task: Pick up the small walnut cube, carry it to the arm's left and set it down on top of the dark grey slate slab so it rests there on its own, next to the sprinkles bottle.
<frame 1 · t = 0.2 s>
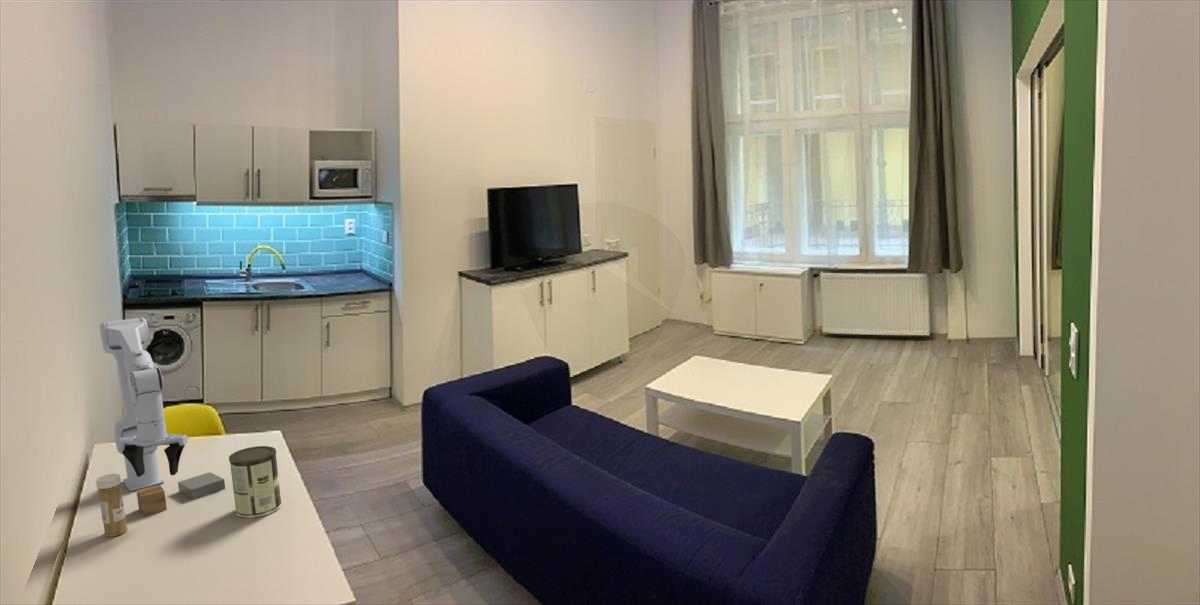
hand: (157, 474, 180), 10 cm above the table, tool pointing down, fingers open, 7 cm apart
sprinkles bottle: (116, 533, 173), on the table
slate slab: (202, 491, 196), on the table
walnut cube: (152, 509, 185), on the table
coffee can: (258, 509, 184), on the table
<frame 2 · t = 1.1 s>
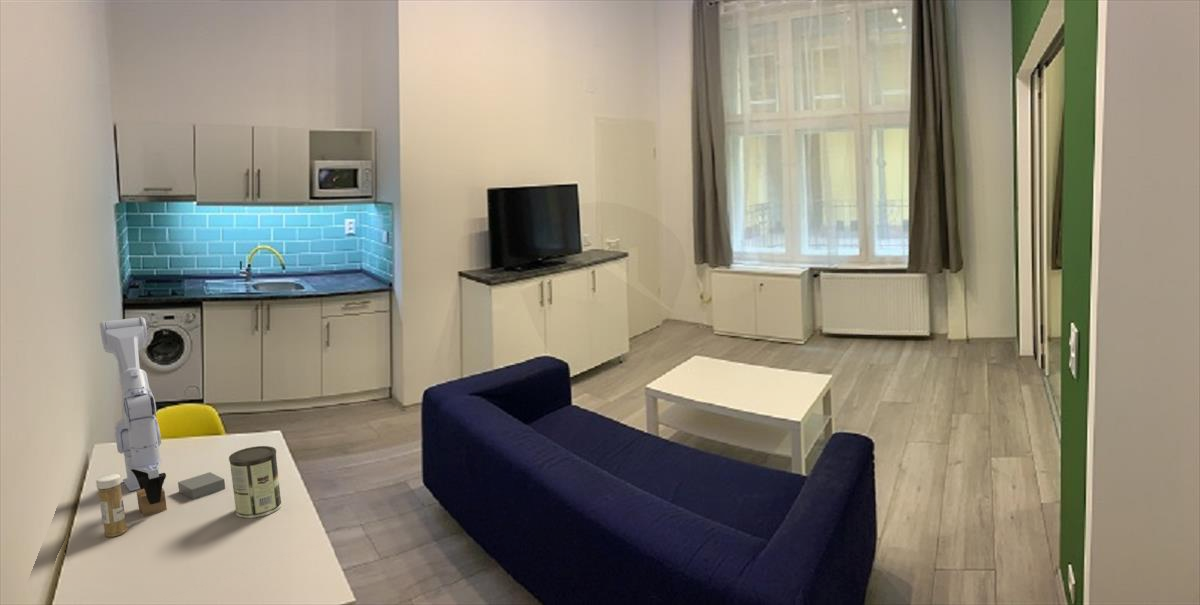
hand: (151, 498, 184), 3 cm above the table, tool pointing down, fingers open, 7 cm apart
nothing on the table moved.
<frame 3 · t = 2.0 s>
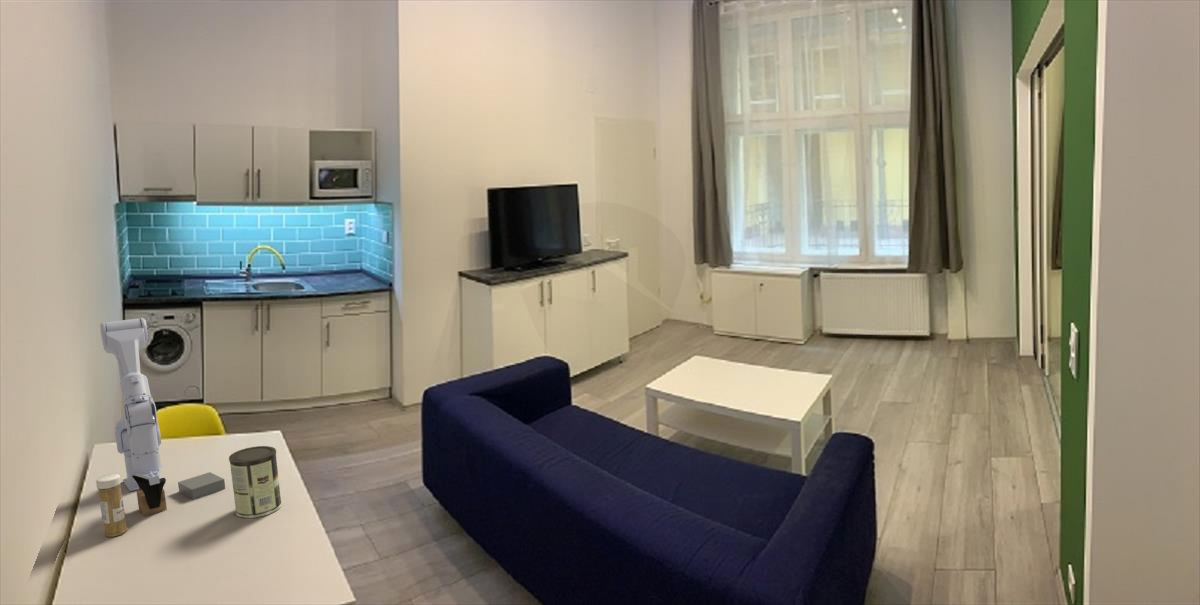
hand: (152, 504, 185), 1 cm above the table, tool pointing down, fingers closed on walnut cube, 5 cm apart
walnut cube: (152, 509, 185), on the table, touching gripper
everything else where it was.
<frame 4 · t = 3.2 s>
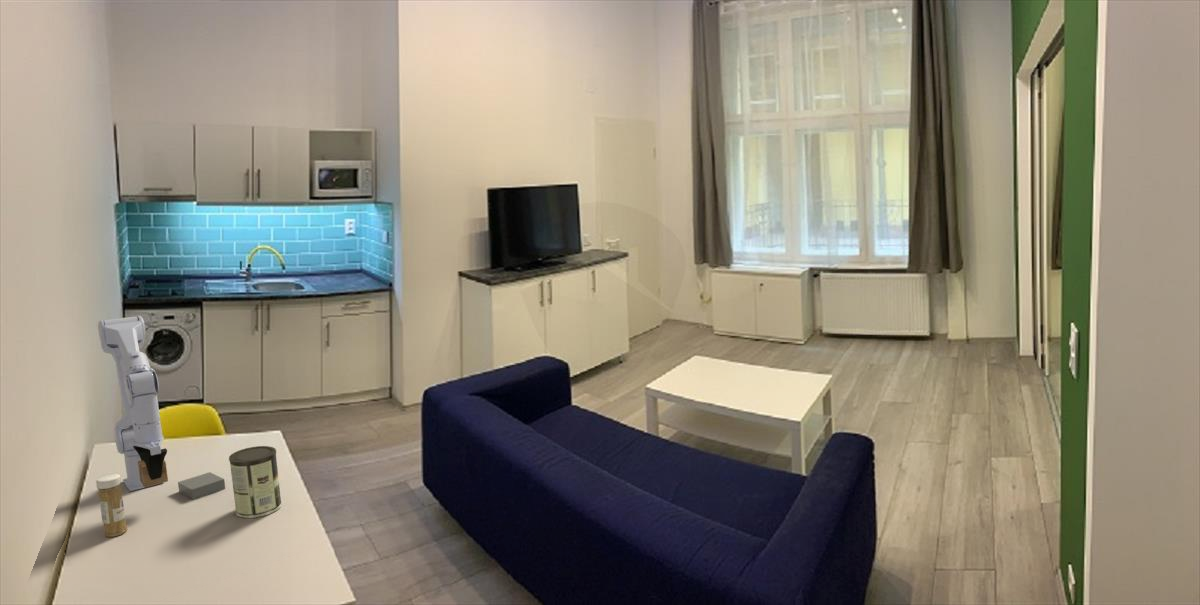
hand: (153, 475, 184), 8 cm above the table, tool pointing down, fingers closed on walnut cube, 5 cm apart
walnut cube: (154, 481, 185), point 7 cm above the table, touching gripper
everything else where it was.
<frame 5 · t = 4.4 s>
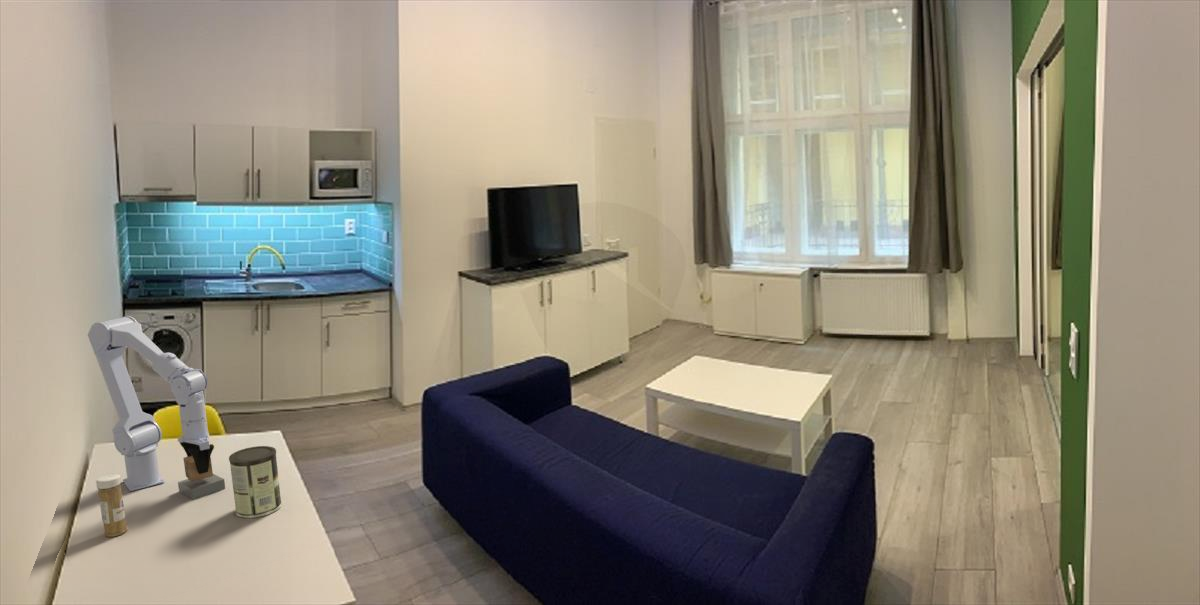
hand: (199, 469, 195), 6 cm above the table, tool pointing down, fingers closed on walnut cube, 5 cm apart
walnut cube: (199, 476, 195), point 4 cm above the table, touching gripper
everything else where it was.
when the fingers open (5 cm above the table, at t = 4.9 s): walnut cube drops 1 cm, resting on slate slab.
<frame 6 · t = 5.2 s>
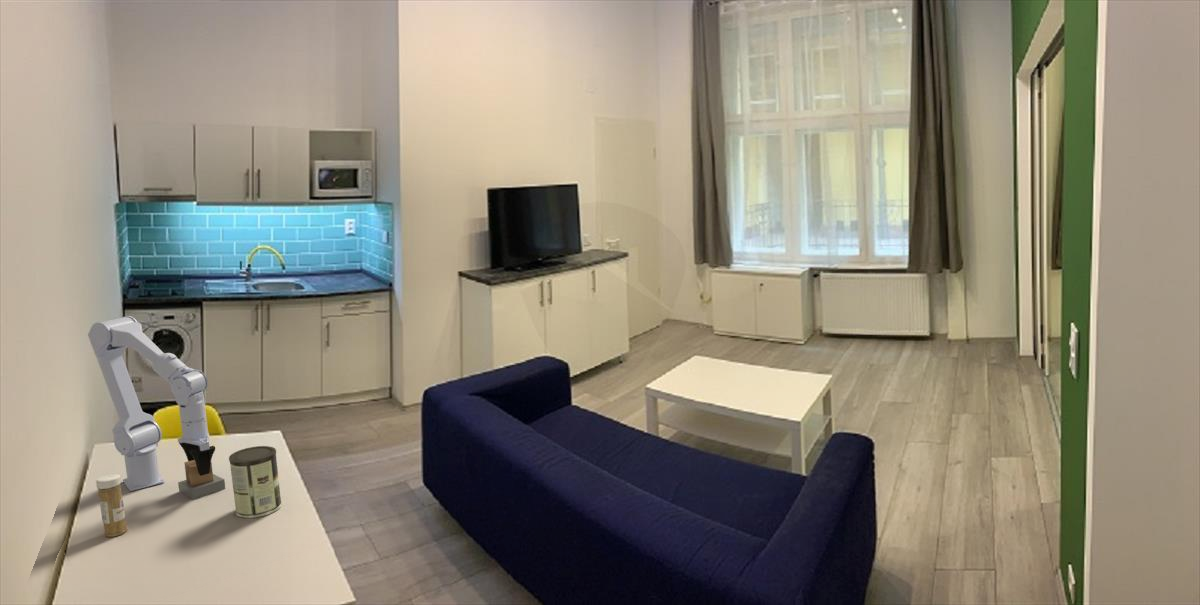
hand: (199, 470, 195), 5 cm above the table, tool pointing down, fingers open, 7 cm apart
slate slab: (202, 491, 196), on the table, touching walnut cube
walnut cube: (200, 480, 195), point 3 cm above the table, touching slate slab
everything else where it was.
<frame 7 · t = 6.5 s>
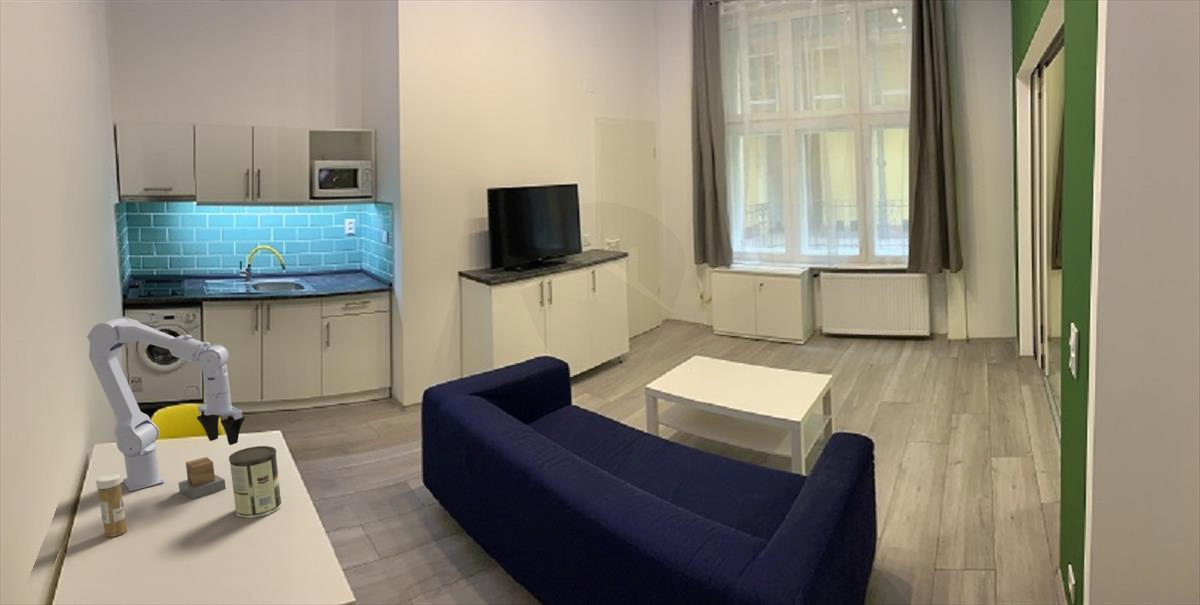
hand: (223, 441, 200), 10 cm above the table, tool pointing down, fingers open, 7 cm apart
nothing on the table moved.
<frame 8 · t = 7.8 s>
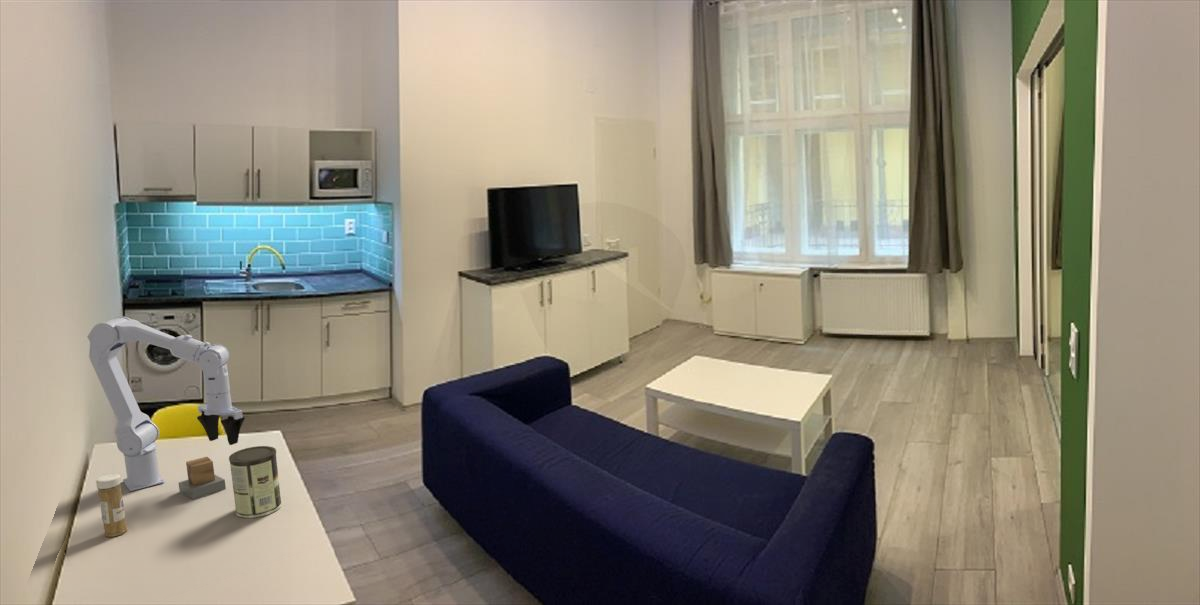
hand: (223, 441, 200), 10 cm above the table, tool pointing down, fingers open, 7 cm apart
slate slab: (202, 492, 195), on the table
walnut cube: (201, 480, 195), point 3 cm above the table
everything else where it was.
at the end: walnut cube 0.5 cm off-centre on the slate slab, point 3.0 cm above the slate slab's base; walnut cube tilted 1°; the gripper is holding nothing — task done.
